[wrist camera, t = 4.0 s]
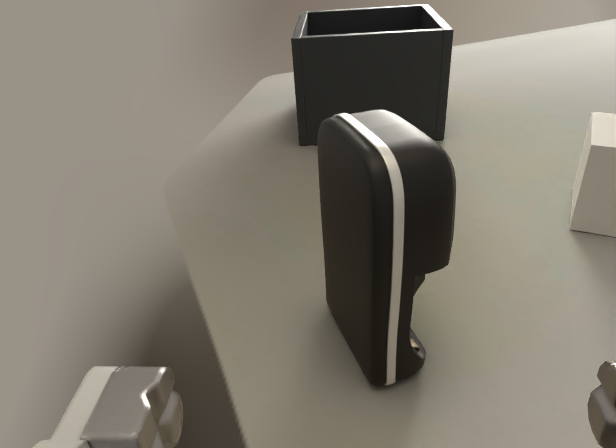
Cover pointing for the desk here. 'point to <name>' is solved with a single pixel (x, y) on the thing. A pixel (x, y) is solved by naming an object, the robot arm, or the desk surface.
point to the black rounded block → (382, 232)
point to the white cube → (596, 179)
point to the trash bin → (372, 66)
